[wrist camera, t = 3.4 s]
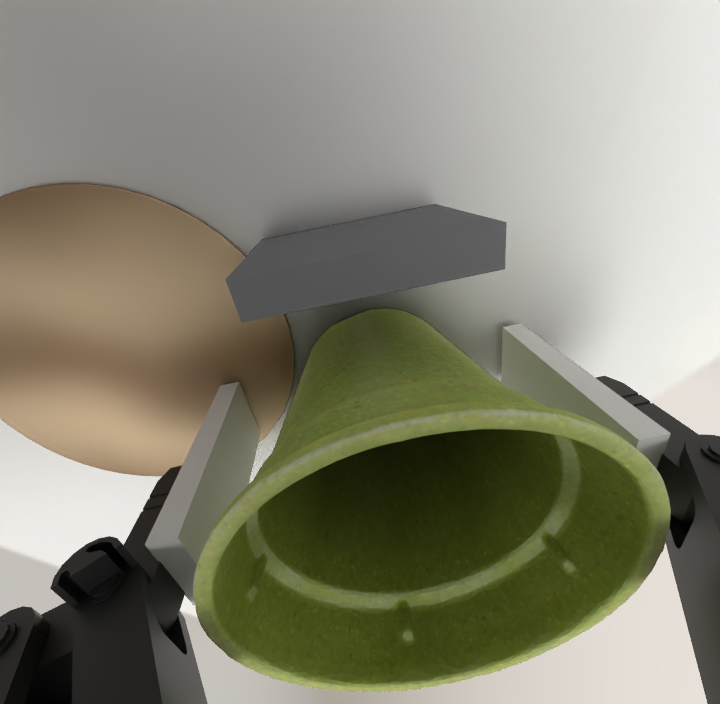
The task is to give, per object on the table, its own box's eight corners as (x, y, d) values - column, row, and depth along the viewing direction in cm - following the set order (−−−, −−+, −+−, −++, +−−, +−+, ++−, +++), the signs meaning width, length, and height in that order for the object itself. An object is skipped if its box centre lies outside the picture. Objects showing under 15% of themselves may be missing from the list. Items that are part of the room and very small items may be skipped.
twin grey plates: (262, 239, 11) (225, 279, 7) (435, 204, 11) (506, 222, 7) (338, 488, 17) (344, 594, 13) (451, 464, 17) (496, 562, 13)
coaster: (-161, 227, 10) (-173, 228, 10) (234, 147, 10) (232, 147, 10) (72, 493, 16) (68, 499, 15) (323, 441, 16) (323, 446, 16)
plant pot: (429, 469, 17) (513, 698, 10) (244, 436, 15) (167, 697, 8) (524, 306, 14) (781, 473, 6) (295, 229, 11) (242, 339, 4)
